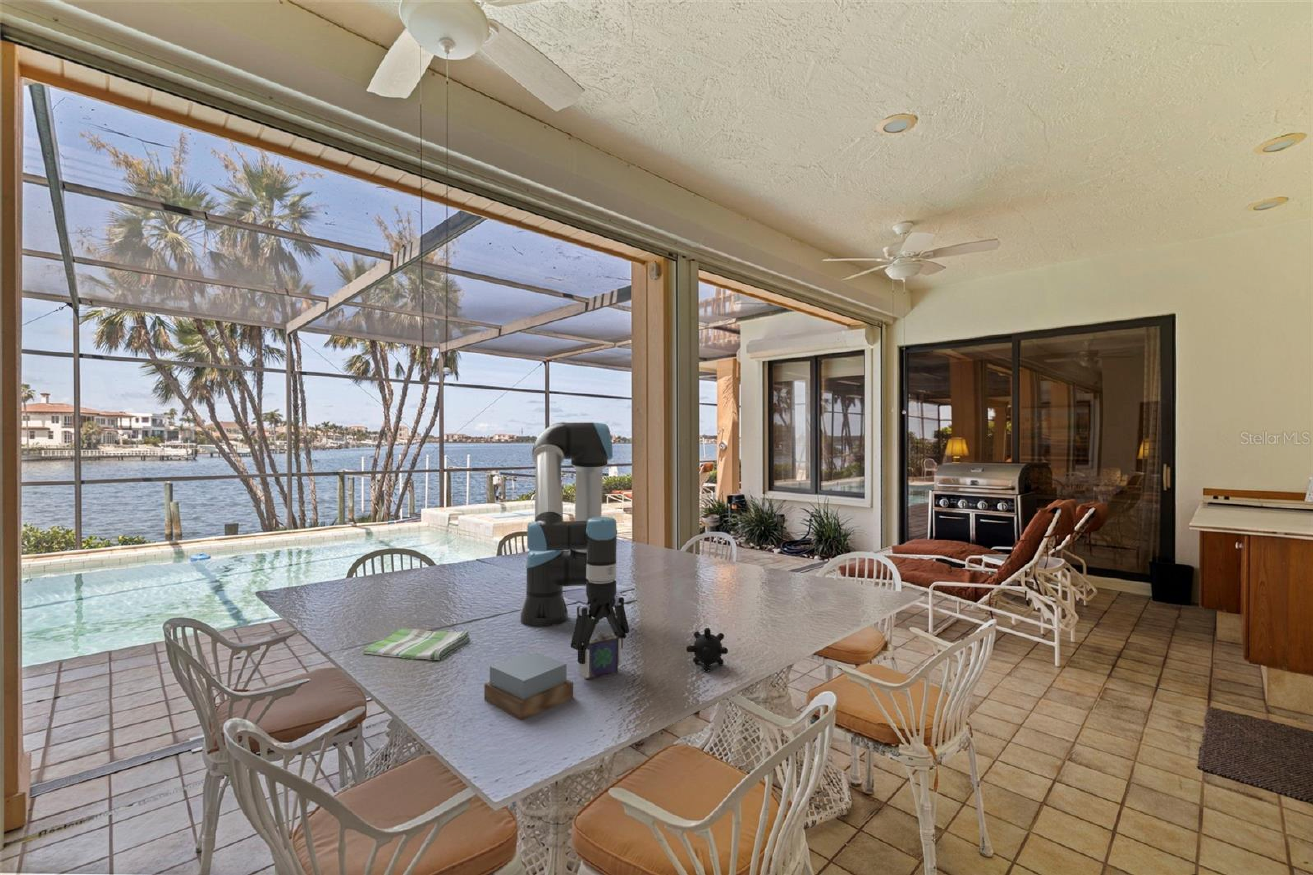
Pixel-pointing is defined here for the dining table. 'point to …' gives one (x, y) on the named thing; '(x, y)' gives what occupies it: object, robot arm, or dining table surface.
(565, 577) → the robot arm
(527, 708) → the tower base block
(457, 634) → the dish towel
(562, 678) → the tower top block
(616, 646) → the flask
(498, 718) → the dining table surface
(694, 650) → the toy ball
